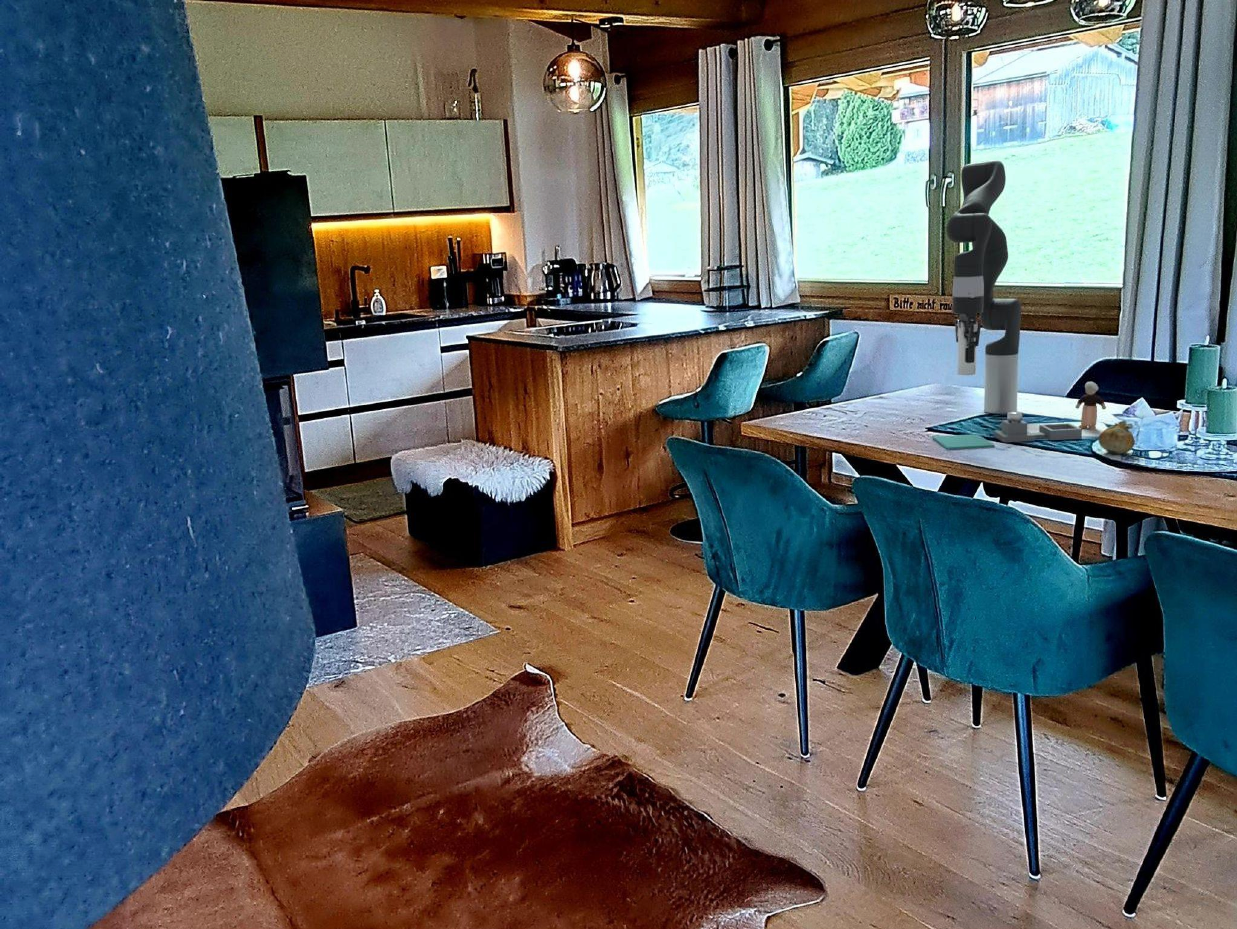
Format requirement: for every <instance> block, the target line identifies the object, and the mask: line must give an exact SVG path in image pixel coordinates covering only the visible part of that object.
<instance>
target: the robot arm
mask: <svg viewBox="0 0 1237 929" xmlns="http://www.w3.org/2000/svg"><path fill="white" fill-rule="evenodd" d="M960 173H961V174H960V177H961V180H960V181H961V187H962V193H963V197H964V200H963V202H962V205H961V207H960V208H959V209H958V210H956V211H955V212H954V213H953V214H952V215H951V217H950V218H949V219H948V222H947V225H946V236H947V237H948V239H949V240H950V241H951V242H953V243H957V244H960V243H961V244H962V243H971V248H972V249H970V250H968V251H963V252H960V253H957V254H955V256H954V259H953V281H952V282H953V283H952V308H951V309H952V310H951V312H952V313H953V314H955V315H958V316H959V317H958V319H955V320H954V330H955V342H956V343H958V327H961V328H962V336H963V339H964V340H965V362H966V363H973V362H974V361H975V348H976V349H977V347H979V343H980V342H979V341H980V335H981V327H982V328H983V329H984V330H987V331H1005V332H1004V336H1003V337H1001V338H1000V339H998V340H995V341H991V342H988V343H987V344H986V345H985V351H984V352H985V354H984V396H983V398H984V402H983V403H984V404H983V411H984V412H986V413H990V414H1007V413H1008V412H1018V387H1019V386H1018V385H1019V380H1018V379H1019V351H1020V350H1019V349H1020V348H1019V347H1020V335H1021V322H1022V305H1021V302H1020V300H1019V299H1017V298H995V297H994V287H995V284H996V283H997V280H998V279H999V277H1000V275H1001V274H1002V272H1003V270H1004V269H1005V267H1006V266H1007V262H1008V260H1009V251H1008V242H1007V236H1006V233H1005V232H1004V231H1003V229H1002V228H1001V227H1000V226H999V225H998V223H996V221H995V220H994V219H992V218H991V216H990V215H989V214H990V211H991V208H992V207H993V205H994V203H995V202H996V201H997V200H998V198H999V197H1000V196H1001V195H1002V193H1003V191H1004V190H1005V186H1006V170H1005V166H1004V164H1003V162H1002V161H1000V160H999V159H997V160H996V159H993V160H991V159H990V160H987V161H985V160H984V161H979V162H972V163H968V164H965V165H963V167H962V169H961V172H960ZM977 314H979V318H980V323H978V320H977ZM966 334H969V335H968V336H967V335H966ZM971 339H973V342H971Z"/></svg>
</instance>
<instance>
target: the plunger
mask: <svg viewBox="0 0 1237 929" xmlns="http://www.w3.org/2000/svg"><path fill="white" fill-rule="evenodd" d="M1006 414H1007V417H1006V420H1007V421H1011V423H1018V421H1022V420H1023V412H1022V411H1016V412H1008V413H1006Z"/></svg>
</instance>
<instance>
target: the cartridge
mask: <svg viewBox="0 0 1237 929" xmlns="http://www.w3.org/2000/svg"><path fill="white" fill-rule="evenodd" d="M966 335H967V336H968V335H969V334H966ZM971 342H973V339H971ZM976 361H977V347H976V348H975V361H974V362H973V363H966V362H965V340H964V339H963V336H962V328H961V327H958V342H957V375H959V376H973V375H976V371H977V370H976V368H977V365H976V363H977V362H976Z"/></svg>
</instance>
